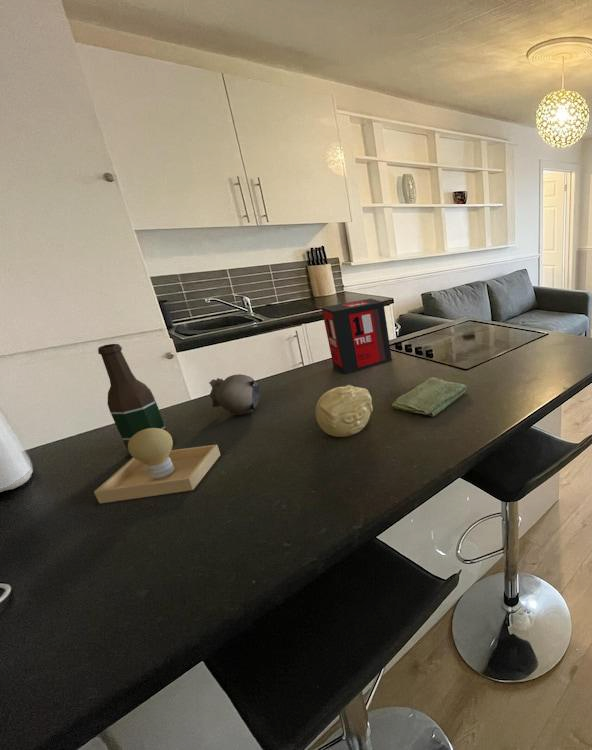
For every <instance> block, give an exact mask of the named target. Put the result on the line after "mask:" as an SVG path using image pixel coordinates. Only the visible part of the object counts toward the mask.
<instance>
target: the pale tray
mask: <svg viewBox="0 0 592 750" xmlns="http://www.w3.org/2000/svg"><path fill="white" fill-rule="evenodd" d="M221 456H222V454H221V452H220V449H219V446H218V444H210V445H202V446H195V447H187V448H179V449H171V451H170V453H169V455H168V457H170V459H171V462H172V464H173V466H174V471H173V472H172V474H171V475H169V476H167V477H165V478H162V479H153V478H151V477H150V473H149V472H148V469H147V467H146V465H147V464H146V463H143V462H141V461H139V460H137V459H135V458H134V457H131V458H130V459H129V460H128V461H127V462H125V464H123V465H122V466H121V467H120V468H119V469H118V470H117V471H115V472H114V473H113V474H112V475H111V476H110V477H109V478H107V480H106V481H104V482H103V483H102V484H101V485H100V486H98V488H96V489H95V490H94V491H93V493H94V496H95V497H96V499H97V502H98V503H99V504H107V503H113V502H121V501H128V500H134V499H141V498H149V497H154V496H161V495H162V496H163V495H168V494H175V493H176V494H177V493H182V492H183V493H184V492H189V491H190V492H191V491H194V490H195V488H196V487H197V486H198V485H199V483H201V481H202V480H203V478H204V477H205V476H206V474H207V473H208V472H209V471H210V469H211V468H212V467H213V466H214V464H215V463H216V462H217V460H218V459H219V457H221Z"/></svg>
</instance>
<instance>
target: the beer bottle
mask: <svg viewBox="0 0 592 750" xmlns="http://www.w3.org/2000/svg"><path fill="white" fill-rule="evenodd" d="M122 347H123V346H121V345H120V344H119V343H110V344H104V345H101V346H98V348H97V353H98V355H100V356H101V359H102V361H103V365H104V368H105V370H106V373H107V376H108V379H109V384H110V387H109V389H108V392H107V406H108V410H109V413H110V416H111V417H112V419H113V422H114V424H115V426H116V428H117V430H118V433H119V436H120V438H121V440H122V442H123V444H124V446H125V449H126V451H127V452H128V454H129V456H130V457H131V458H133V457H132V455H131V454H130V453H129V450H128V442H129V440H130V438H131V437H132V436H133V435H135V434H136V433H137V432H139V431H141V430H144V429H148V428H159V429H163V430H165V431H167V432H168V429H167V425H166V424H165V422H164V418H163V415H162V414H161V412H160V409H159V406H158V403H157V401H156V399H155V395H154V394H153V392H152V390H151V389H150V387H148V385H146V384H145V383H144V382H142V381H141V380H139V379H137V378H136V376H135V375H134V374H133V372H132V370H131V368H130V365H129V363H128V362H127V359H126V358H125V355H124V354H123V352H122V350H123V348H122ZM168 433H169V432H168Z"/></svg>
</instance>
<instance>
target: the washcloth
mask: <svg viewBox="0 0 592 750" xmlns="http://www.w3.org/2000/svg"><path fill="white" fill-rule="evenodd" d="M467 389H468V387H467V385H466V384H463V383H458V382H453V381H446V380H443V379H441V378H437V377H430V378H428V379H427V380H425V381H424V382H423V383H420V384H418V385H417V386H415V387H414V388H412V389H411V390H409V391H408V392H406V393H404V394H402V395H399V396H398V397H397V398H396V399H395V400H394V401H393V402H392V404H391V407H394V409H396V410H401V411H404V412H410V413H414V414H421V415H424V416H426V415H427V416H430V417H435V416H437V415H439V413H440V412H442V411H444V410H445V408H447V407H448V406H450V405H451V404H452V403H453V402H455V401H456V400H458V399H459V398H460V397H462V395H464V394H465V393H466V391H467Z"/></svg>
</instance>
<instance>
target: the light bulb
mask: <svg viewBox="0 0 592 750" xmlns="http://www.w3.org/2000/svg"><path fill="white" fill-rule="evenodd" d="M167 431H168V430H167ZM167 431H165V430H163V429H159V428H148V429H144V430H141V431H139V432H137V433H136V434H135V435H133V436H132V437H131V438H130V440H129V442H128V450H129V452H128V454H129V453H130V454H131V455H132V457H131V458H133V457H134V458H135V459H137V460H139V461H141V462H143V463H146V464H147V465H146V467H147V469H148V472H149V473H150V477H151V478H153V479H162V478H165V477H167V476H169V475H171V474H172V472H173V471H174V466H173V464H172V462H171V459H170V457H168V455H169V453H170V451H171V450H173V444H174V441H173V438H172V435H171V433H169V432H167ZM128 450H127V451H128ZM130 454H129V455H130Z"/></svg>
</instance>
